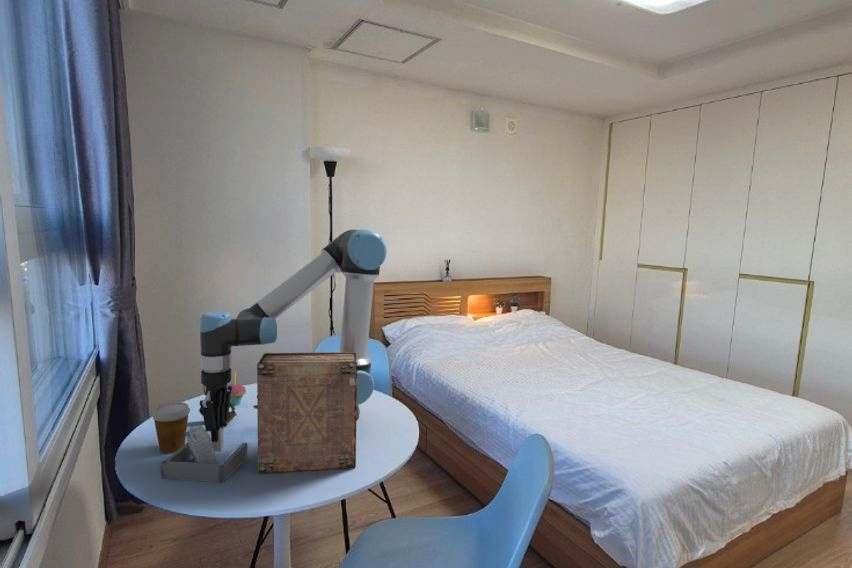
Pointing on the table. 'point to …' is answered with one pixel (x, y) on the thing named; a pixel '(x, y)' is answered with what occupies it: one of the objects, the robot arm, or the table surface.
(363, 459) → the table surface
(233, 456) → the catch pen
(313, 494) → the table surface
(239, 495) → the table surface
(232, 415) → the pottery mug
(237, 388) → the cupcake
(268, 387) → the book
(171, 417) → the disposable coffee cup
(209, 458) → the medicine box
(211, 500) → the table surface
